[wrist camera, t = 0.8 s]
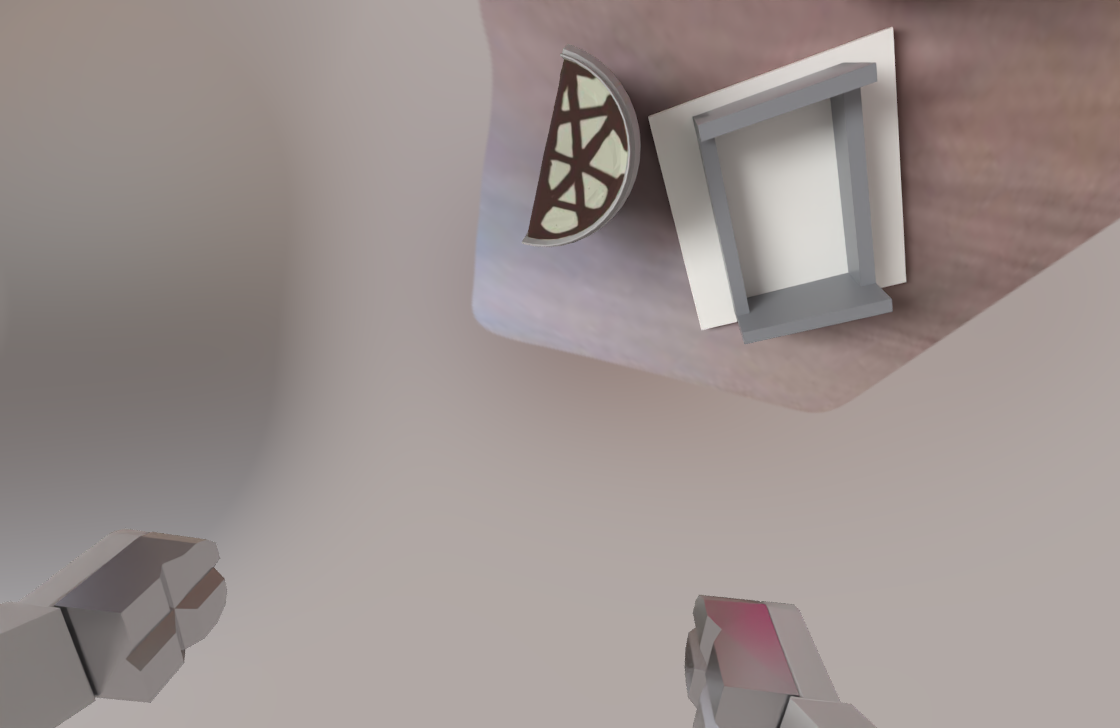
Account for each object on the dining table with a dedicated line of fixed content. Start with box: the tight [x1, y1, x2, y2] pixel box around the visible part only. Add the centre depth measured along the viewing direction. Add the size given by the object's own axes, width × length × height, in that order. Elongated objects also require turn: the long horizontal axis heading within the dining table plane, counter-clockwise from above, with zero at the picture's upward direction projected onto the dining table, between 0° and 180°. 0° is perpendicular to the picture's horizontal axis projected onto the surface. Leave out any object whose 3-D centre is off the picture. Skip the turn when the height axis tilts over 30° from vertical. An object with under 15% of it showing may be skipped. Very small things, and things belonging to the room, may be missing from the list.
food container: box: [522, 44, 641, 247], centre depth 36 cm, size 12×6×10 cm, turn 166°
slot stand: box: [648, 27, 906, 344], centre depth 37 cm, size 16×18×7 cm
